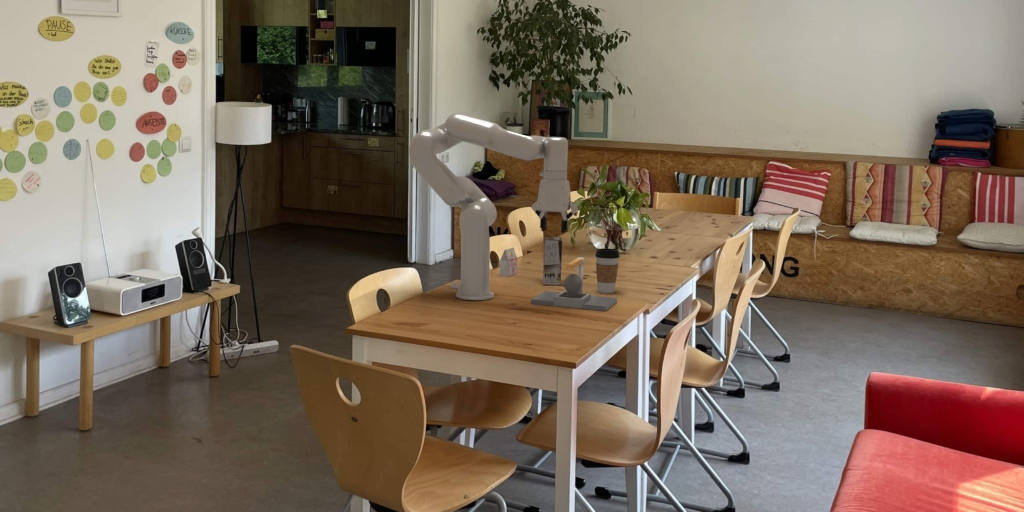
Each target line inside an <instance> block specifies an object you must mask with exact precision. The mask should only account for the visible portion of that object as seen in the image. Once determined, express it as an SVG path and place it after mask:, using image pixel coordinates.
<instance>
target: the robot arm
mask: <svg viewBox="0 0 1024 512" xmlns="http://www.w3.org/2000/svg"><path fill="white" fill-rule="evenodd" d="M463 142H464V143H468V144H471V145H475V146H478V147H482V148H485V149H488V150H491V151H493V152H497V153H500V154H503V155H505V156H509V157H512V158H515V159H519V160H523V161H533V160H537V159H543V170H541V171H539V172H538V174H539V176H540V177H542V179H541V180H540V182H539V187H538V193H537V194H538V195H537V200H536V201H535V202H534V203H533V204H532V205H531V206H530V207H531V210H533V212H534V213H535V214H536V216H538V218H539V222H540V224H539V228H540V230H541V232H546V231H547V220H548V219H547V218H546V215H547V214H548V212H550V213H551V212H555V213H560V214H561V216H562V220H561V227H560V228H561V229H560V230H561V233H562V234H564V233H566V232H567V231H568V228H569V225H568V224H569V220H570V219H571V218H572V217H573V216H574V215H575V213H577V212H578V211H579V209H578V207H577V206H576V205H575V204H574V203H573V202H572V199H571V197H572V195H571V186H570V180H568V155H569V154H568V152H569V140H568V139H567V138H566V137H563V136H562V137H561V136H541V135H525V134H520V133H516V132H513V131H509V130H507V129H505V128H503V127H501V126H500V125H499V124H498V123H496V122H492V121H489V120H485V119H481V118H477V117H474V116H473V115H471V113H468V112H455V113H451V114H450V115H449V116H448V117H446V120H445V122H443V123H441V124H440V125H437V126H436V127H434V128H431V129H429V128H428V129H422V130H420V131H418V132H417V133H416V134H415V135H414V136H413V137H412V139H411V141H410V144H409V149H408V150H409V151H408V154H409V155H408V156H409V159H410V162H411V165H412V167H413V168H414V169H415V171H416V172H417V174H419V176H421V177H422V179H423V180H424V181H425V182H426V183H427V185H428V186H429V187H430V188H431V189H432V190H433V191H434V192H435V194H436V195H438V197H439V198H440V199H441V201H443V202H444V203H445V204H446V205H447V206H449V207H452V208H453V207H459V208H460V209H461V212H460V214H459V229H460V282H450V284H449V288H450V289H451V290H457V291H456V292H455V296H456V298H458V299H461V300H465V301H485V300H491V299H493V298H494V297H495V294H494V292H493V291H490V267H491V265H490V260H491V259H490V258H491V254H490V253H491V252H490V251H491V249H490V248H491V247H490V246H491V242H490V241H491V240H490V231H489V230H490V229H489V227H490V226H492V225H494V223H495V221H496V219H497V214H498V213H497V208H496V206H495V204H494V203H493V202H492V201H491V200H490V199H489V197H488V196H487V195H486V194H485V193H484V192H483V191H482V189H481V188H479V186H478V185H476V184H475V183H474V181H473V180H471V179H470V178H469V177H466V176H462V175H461V176H458V175H456V174H454V172H453V171H452V170H451V169H450V168H449V167H448V166H447V165H446V164H445V163H444V161H442V160H441V159H439V158H438V156H437V155H438V154H441V153H444V152H446V151H448V150H450V149H451V148H453V147H455V146H457V145H458V144H460V143H463ZM568 211H569V212H568Z"/></svg>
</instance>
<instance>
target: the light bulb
mask: <svg viewBox="0 0 1024 512" xmlns="http://www.w3.org/2000/svg"><path fill="white" fill-rule="evenodd" d="M563 287H564V288H565V291H567V294H568V298H577V296H578V292H579V290H580V289H581V287H582V280H581V278H580V277H579V276H578V275H577V273H570V274H568V275H567V276H566V277H565V278H564V280H563Z"/></svg>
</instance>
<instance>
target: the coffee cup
mask: <svg viewBox="0 0 1024 512" xmlns="http://www.w3.org/2000/svg"><path fill="white" fill-rule="evenodd" d="M595 258H596V262H595V267H596V283H597V284H596V285H597V292H598V293H601V294H614V293H615V291H616V283H617V278H618V277H617V276H618V269H619V258H620V253H619V249H615V248H604V247H603V248H598V249H596V252H595Z"/></svg>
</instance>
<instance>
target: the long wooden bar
mask: <svg viewBox="0 0 1024 512" xmlns="http://www.w3.org/2000/svg"><path fill="white" fill-rule="evenodd" d="M582 263H583V264H584V263H585V257H582V256H580V257H579V256H578V257H576V258H575V259H574V260H572V261H570V262H568V263H566V264H565V265H566V267H565V269H566V270H573V269H575V268H577V266H578V265H580V264H582Z"/></svg>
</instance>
